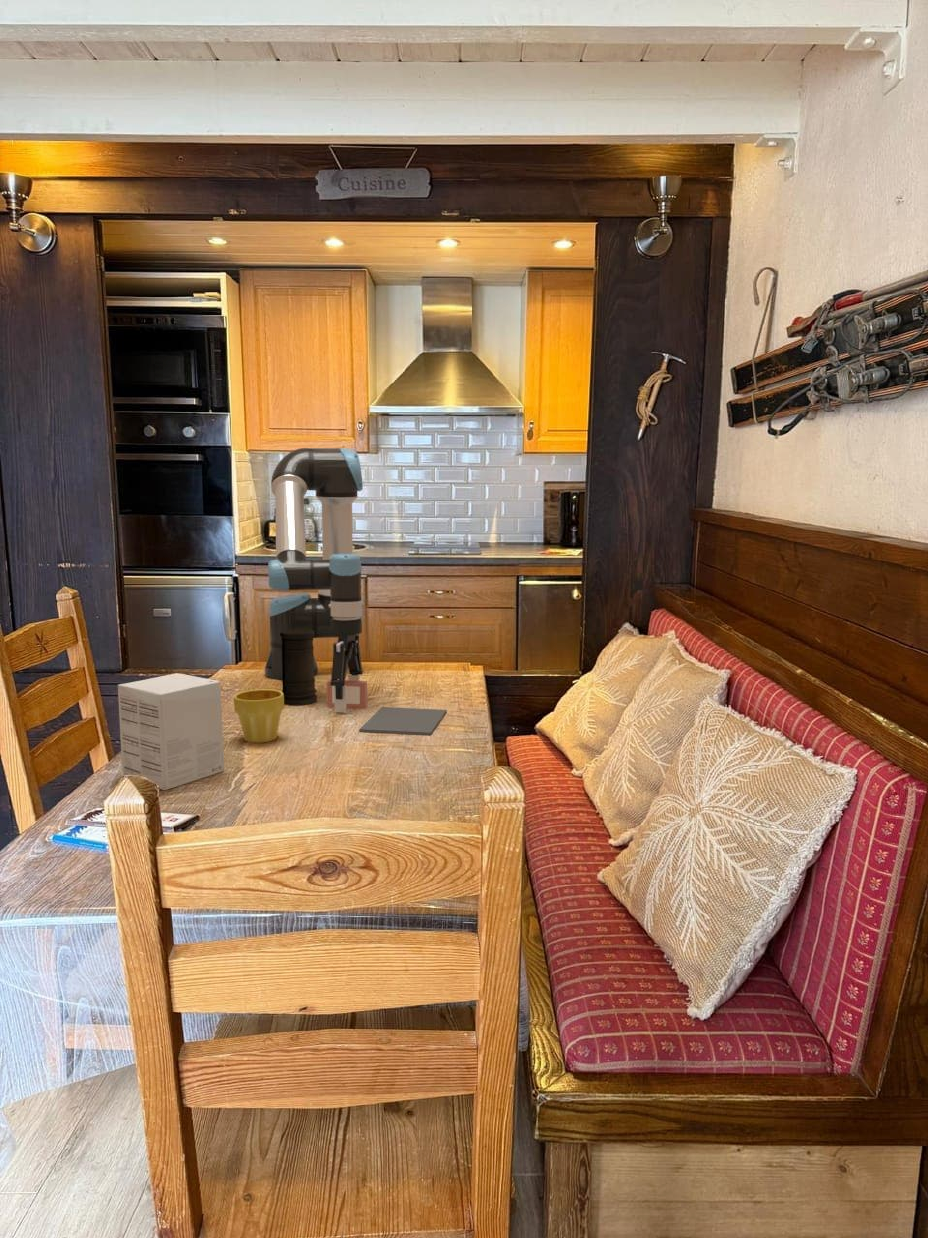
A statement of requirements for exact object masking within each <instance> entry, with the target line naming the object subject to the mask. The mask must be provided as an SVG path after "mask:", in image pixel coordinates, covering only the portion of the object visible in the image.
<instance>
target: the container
mask: <svg viewBox="0 0 928 1238" xmlns="http://www.w3.org/2000/svg"><path fill="white" fill-rule="evenodd" d="M280 636H281V637H282V639H281V640H282V679H281V685H282V689H281V692H283V694H284V705H287V706H305V705H311V704H313V703H315V702H317V700H318V695H317V694H316V693H317V689H316V679H315V676H314V657H315V654H314V648H315V647H314V639H315V638H313V636H314V631H313V630H309V629H291V630H284V631H281V633H280Z"/></svg>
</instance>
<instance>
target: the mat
mask: <svg viewBox="0 0 928 1238" xmlns="http://www.w3.org/2000/svg"><path fill="white" fill-rule="evenodd" d="M447 712H448V711H447V709H440V708H439V709H434V708H413V707H411V708H410V707H394V706H393V707H392V706H391V707H388V706H386V707H385V706H381V707H380V708H379V709H378V710H377V712H375V713H374V714H373V715H372V716H371V717H370V718H368V720H367V721H366V722H365V723H364V724H363V725H362V726H361V727H360V728H359V733H375V734H376V733H377V734H397V735H398V734H399V735H417V736H431V735H432V734H433V733H434V731H435V730H436V728H437V727H438V725H439V724H440V723H441V721H442V719H443V718H444V717H445V715H446V714H447Z"/></svg>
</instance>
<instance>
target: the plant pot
mask: <svg viewBox="0 0 928 1238" xmlns="http://www.w3.org/2000/svg"><path fill="white" fill-rule="evenodd" d="M233 705H234V706H233V707H234V712H235V713H236V714H237V715H238V718H239V723H240V726H241V729H242V734H243V737H244V740H245V742H247V743H251V744H260V743H268V742H272V741H275V740H276V739H277V737H278V734H279V733H278V731H279V725H280V720H281V713H282V711H283V710H284V709H285V704H284V694H283V692H282V690H278V689H271V688H270V689H269V688H260V689H259V688H258V689H256V688H255V689H250V690H245V691H241V692H238V693H235V695H233Z"/></svg>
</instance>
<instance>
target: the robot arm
mask: <svg viewBox="0 0 928 1238" xmlns="http://www.w3.org/2000/svg"><path fill="white" fill-rule="evenodd" d="M361 468H362V467H361V462H360V458H359V454H358V453H357V451H356V450H354V449H351V448H350V449H349V448H342V447H340V448H325V447H323V448H320V447H318V448H315V447H313V448H312V447H311V448H308V447H302V448H301V447H299V448H297V449H294V450H292V451H290V452H289V453H288V454H286V455H284V457H282V458H281V459H280V461H279V462H278V463H277V465H276V466H275V468H274V470H273V472H272V476H271V484H270V488H271V492H272V494H273V496H274V500H275V503H274V504H275V507H274V508H275V511H274V512H275V559H273V560H272V559H271V560H269V561H268V563H267V564H268V568H267V569H268V571H267V573H268V587H269V588H270V589H271V590H273V591H284V592H285V591H287V592H288V591H302V590H304V591H307V590H313V591H314V590H318V591H317V597H314V598H313V597H312V595H311V594H310V593H308V592H299V593H291V594H285V595H284V594H283V595H280V596H277V597H274V598H272V599H271V600H270V602H269V613H268V617H269V639H270V641H269V643H270V648H269V652H268V657H267V659H266V663H265V666H264V675H265V677H266V678H268V679H275V680H282V640H281V639H282V637H281V636H280V633H281V631H284V630H291V629H309V630H313V631H314V636H313V638H314V639H321V638H322V639H323V638H324V639H325V638H326V639H327V638H329V639H330V638H332V639H333V638H337V642H334V643H333V645H332V646H333V647H332V648H333V650H332V653H333V655H332V666H331V676H330V677H331V679H330V680H331V682H330V685H331V686H334V700H335V708H334V713H345V714H346V713H347V708H346V685H345V680H346V678H347V681H360V676H362V675H363V674H364V670H363V667H362V658H361V651H360V636H359V635H361V634H362V631H363V624H362V623H363V619H364V618H363V617H364V616H363V615H364V604H365V603H364V597H362V570H363V569H362V568H363V567H362V563H361V556H360V555H359V554H357V553H353V549H354V548H353V547H354V546H353V503H354V502H355V501H356V500H357V498H358V492H361V491H363V489H364V488H363V487H364V485H363V473H362V469H361ZM307 491H315V498H316V499H317V500H319V501H320V504H321V535H322V536H321V538H322V539H321V541H322V546H321V547H322V550H321V551H322V559H307V549H306V548H307V545H306V543H307V541H306V523H305V522H306V521H305V520H306V517H305V499H304V498H305V496H306V495H307ZM318 667H319V665H318V663H317V659H316V657H315V656H314V677H315V676H317V675H318V674H319V668H318ZM347 671H348V672H349V674H348V675H347Z"/></svg>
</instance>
